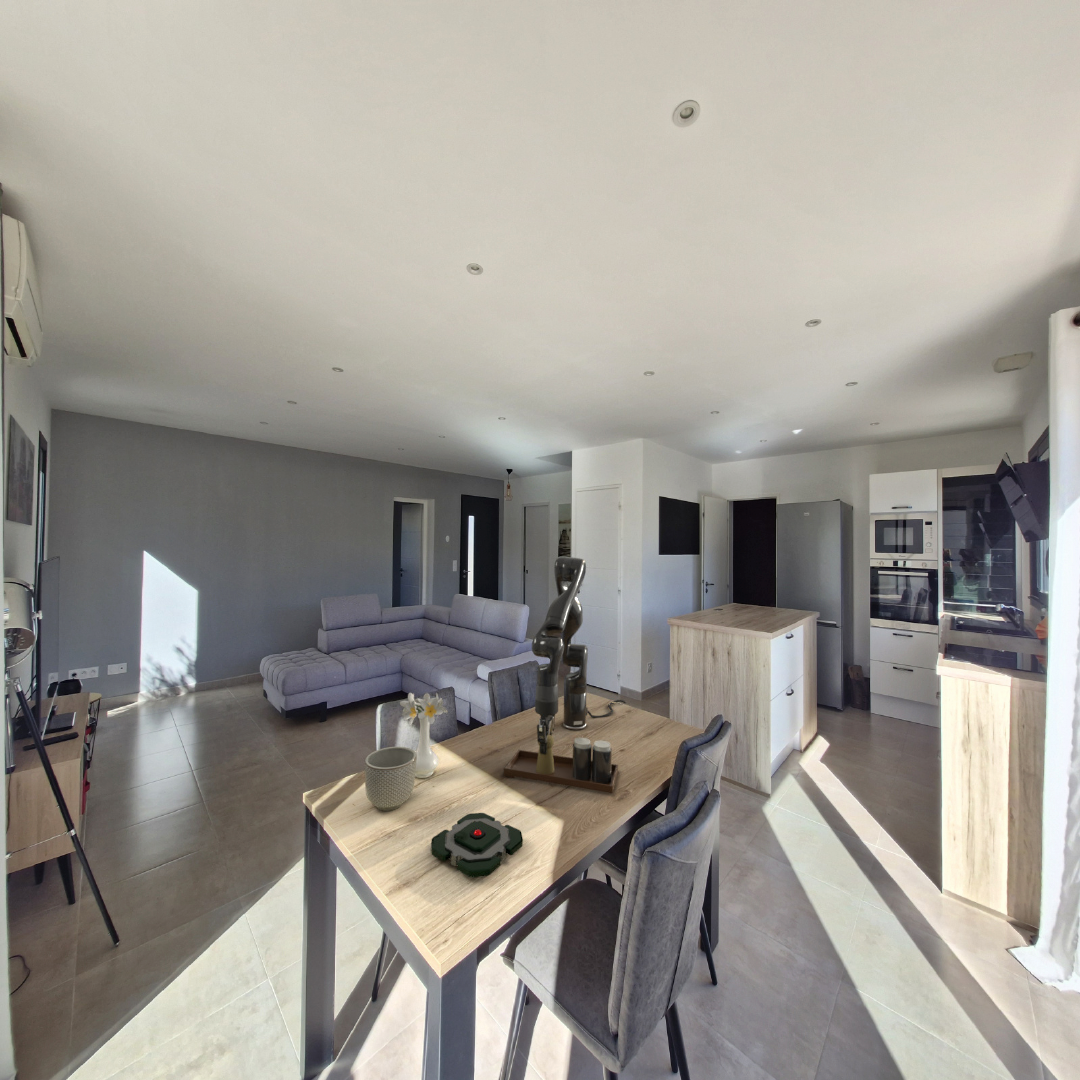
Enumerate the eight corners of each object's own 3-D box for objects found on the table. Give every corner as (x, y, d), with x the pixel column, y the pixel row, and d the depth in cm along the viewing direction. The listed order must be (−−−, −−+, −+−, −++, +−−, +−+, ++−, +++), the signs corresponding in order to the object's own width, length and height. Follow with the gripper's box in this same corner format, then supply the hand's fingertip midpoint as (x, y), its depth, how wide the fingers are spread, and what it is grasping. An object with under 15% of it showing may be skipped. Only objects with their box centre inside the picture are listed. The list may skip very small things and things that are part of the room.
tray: (518, 756, 156) (518, 749, 156) (617, 772, 147) (618, 764, 147) (503, 776, 143) (503, 768, 143) (612, 794, 133) (612, 786, 133)
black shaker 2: (593, 773, 145) (594, 738, 145) (612, 776, 143) (613, 741, 143) (590, 782, 139) (591, 746, 139) (609, 785, 137) (610, 749, 138)
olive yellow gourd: (555, 766, 149) (555, 732, 149) (553, 775, 143) (554, 740, 143) (536, 764, 150) (537, 731, 150) (534, 773, 144) (535, 738, 144)
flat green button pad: (475, 818, 120) (475, 800, 120) (529, 844, 110) (530, 825, 110) (422, 854, 105) (422, 834, 105) (479, 889, 95) (480, 867, 95)
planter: (425, 804, 126) (426, 757, 126) (377, 825, 116) (378, 774, 116) (400, 785, 136) (401, 742, 136) (354, 803, 126) (356, 756, 126)
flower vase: (417, 757, 154) (419, 684, 154) (456, 773, 144) (458, 694, 144) (385, 772, 143) (387, 693, 144) (425, 791, 133) (427, 705, 133)
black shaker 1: (574, 770, 147) (575, 736, 147) (592, 773, 145) (593, 738, 145) (570, 779, 141) (571, 743, 141) (589, 782, 139) (590, 746, 139)
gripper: (552, 705, 139) (551, 761, 139) (563, 692, 153) (562, 742, 152) (529, 703, 141) (528, 758, 141) (541, 689, 155) (540, 739, 154)
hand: (545, 749), depth 147 cm, fingers closed on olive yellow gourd, 5 cm apart
